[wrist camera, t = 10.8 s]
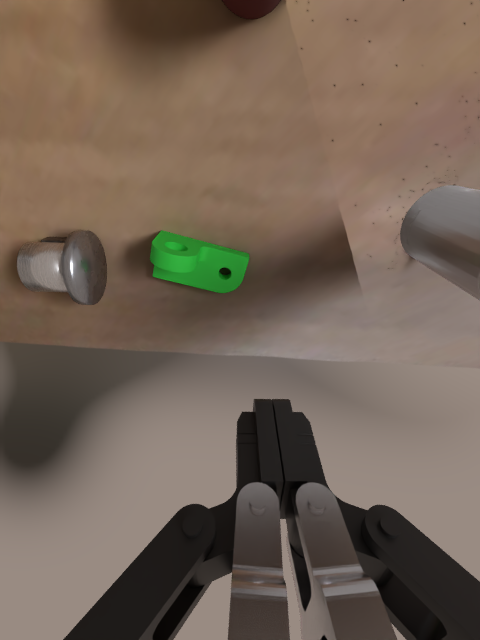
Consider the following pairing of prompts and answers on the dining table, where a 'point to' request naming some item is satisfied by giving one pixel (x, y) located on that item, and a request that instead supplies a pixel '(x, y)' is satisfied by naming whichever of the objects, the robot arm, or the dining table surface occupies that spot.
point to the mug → (251, 7)
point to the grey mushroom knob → (65, 266)
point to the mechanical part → (197, 263)
